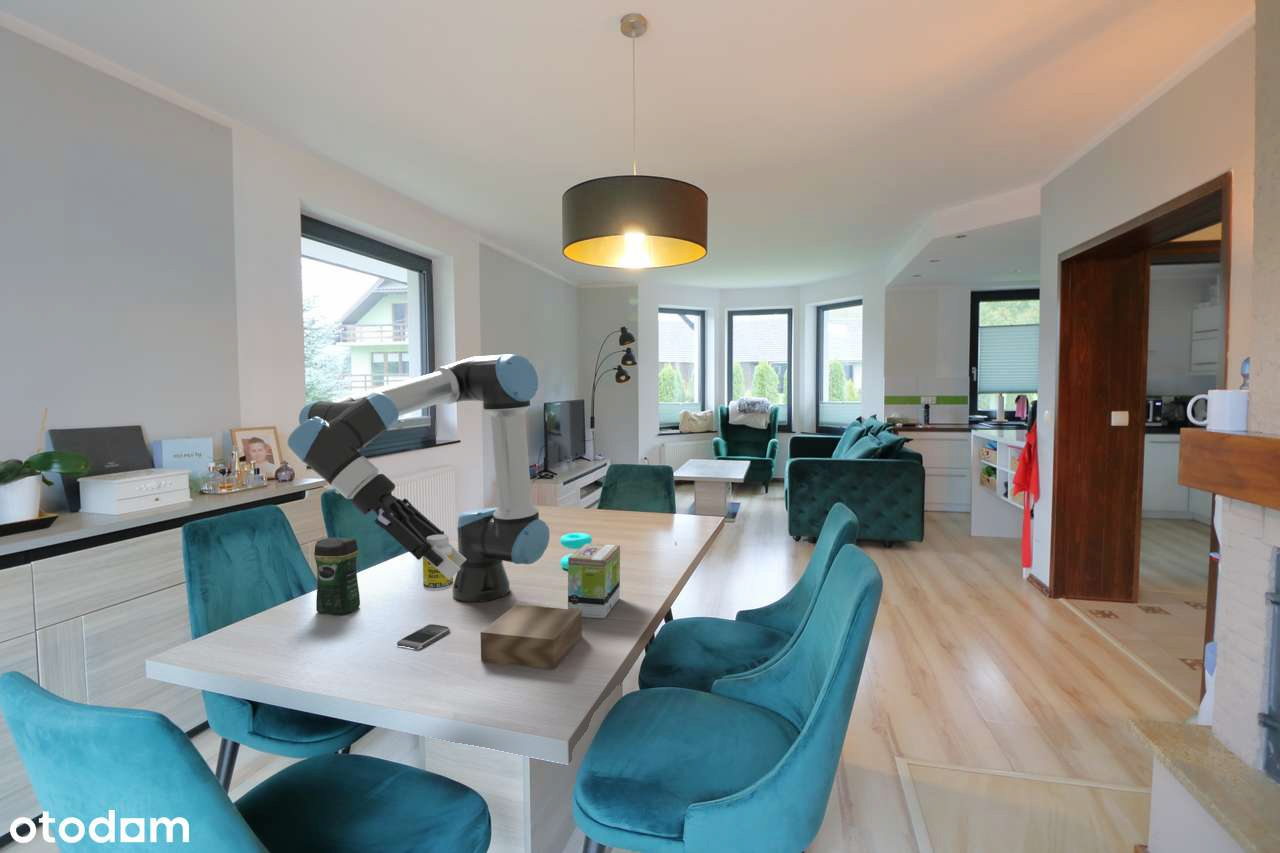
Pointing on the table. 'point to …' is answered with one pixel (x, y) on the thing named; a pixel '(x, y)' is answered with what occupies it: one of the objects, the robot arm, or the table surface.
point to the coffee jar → (336, 575)
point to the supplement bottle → (431, 575)
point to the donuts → (573, 544)
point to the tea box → (594, 579)
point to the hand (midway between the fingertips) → (458, 569)
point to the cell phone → (423, 636)
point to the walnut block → (531, 636)
